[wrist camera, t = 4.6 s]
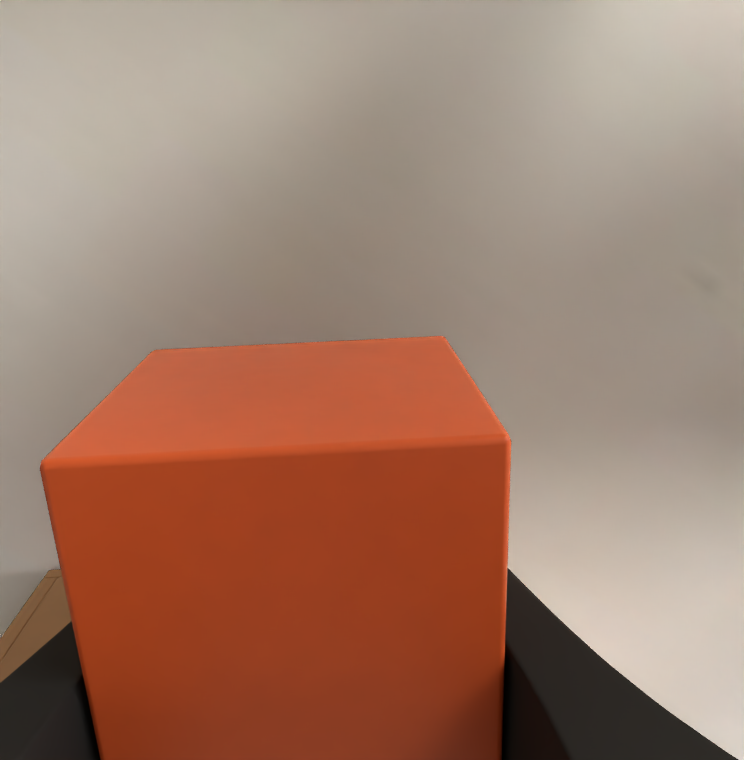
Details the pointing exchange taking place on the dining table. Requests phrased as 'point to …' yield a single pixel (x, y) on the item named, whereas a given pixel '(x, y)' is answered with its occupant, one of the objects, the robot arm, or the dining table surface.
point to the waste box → (35, 623)
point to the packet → (289, 554)
